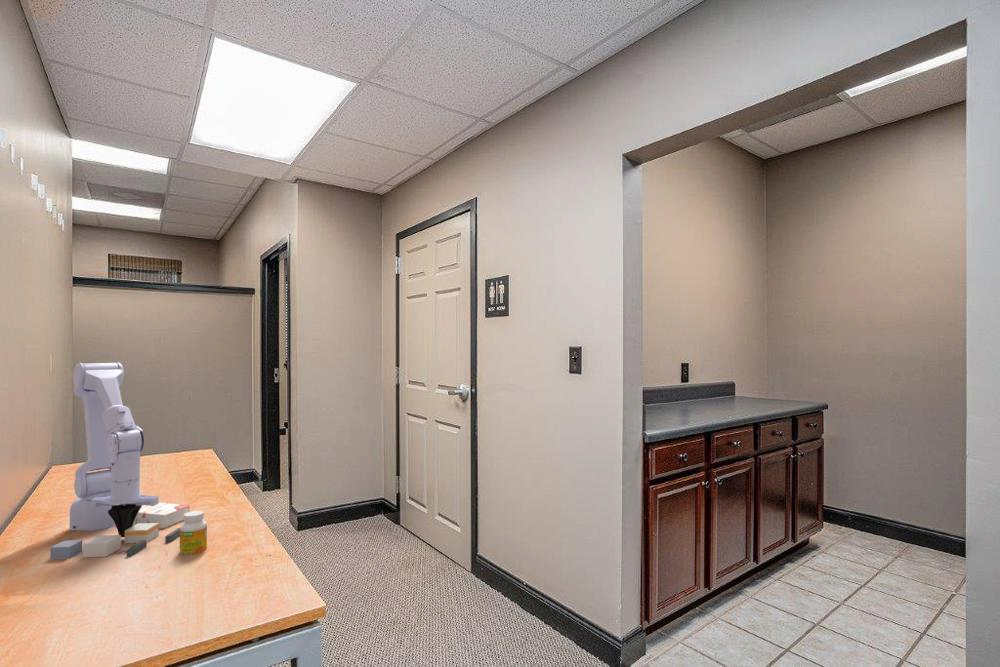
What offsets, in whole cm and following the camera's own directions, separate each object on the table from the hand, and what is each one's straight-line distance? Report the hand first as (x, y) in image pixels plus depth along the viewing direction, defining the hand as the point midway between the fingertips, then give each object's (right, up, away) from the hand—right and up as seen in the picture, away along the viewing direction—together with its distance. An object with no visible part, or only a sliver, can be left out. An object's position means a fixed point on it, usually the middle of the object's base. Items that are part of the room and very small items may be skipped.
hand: (124, 535), depth 127 cm
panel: (+4, -2, -3) cm, 5 cm away
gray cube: (-6, -2, -9) cm, 12 cm away
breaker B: (+1, -1, -8) cm, 8 cm away
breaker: (+4, -1, 0) cm, 4 cm away
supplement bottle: (+20, -2, -7) cm, 22 cm away
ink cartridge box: (+5, 0, +12) cm, 13 cm away
